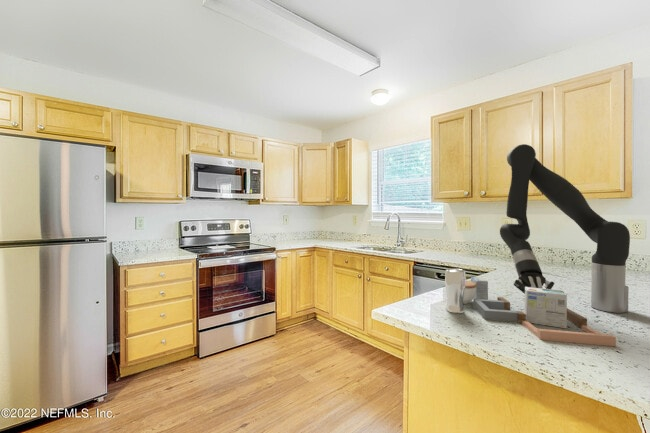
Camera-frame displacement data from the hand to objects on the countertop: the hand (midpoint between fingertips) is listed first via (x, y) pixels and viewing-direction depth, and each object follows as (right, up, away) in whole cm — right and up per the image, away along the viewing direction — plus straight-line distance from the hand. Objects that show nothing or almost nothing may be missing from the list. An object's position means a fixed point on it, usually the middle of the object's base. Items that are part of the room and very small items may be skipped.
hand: (541, 306), depth 99 cm
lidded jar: (-18, -4, +19) cm, 27 cm away
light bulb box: (-2, -5, -4) cm, 6 cm away
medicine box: (-10, -4, +22) cm, 25 cm away
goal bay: (-3, -4, -12) cm, 13 cm away
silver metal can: (-26, -4, +8) cm, 28 cm away
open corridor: (+1, -4, +3) cm, 6 cm away
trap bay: (-13, -4, +5) cm, 14 cm away
